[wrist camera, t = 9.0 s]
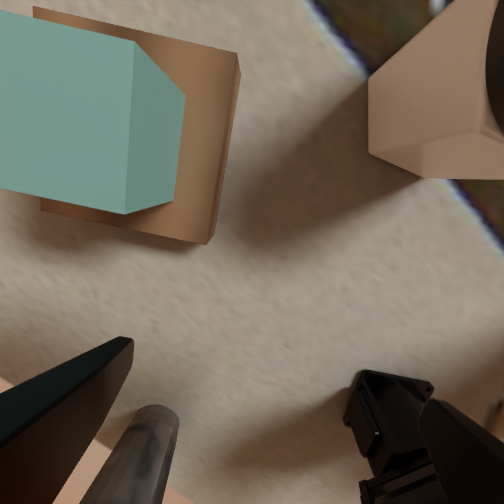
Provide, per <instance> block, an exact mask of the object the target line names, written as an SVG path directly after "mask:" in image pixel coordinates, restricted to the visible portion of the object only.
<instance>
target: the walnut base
mask: <svg viewBox="0 0 504 504" xmlns="http://www.w3.org/2000/svg"><path fill="white" fill-rule="evenodd" d="M33 18H36V19H41V20H45V21H49V22H54V23H58V24H62V25H67V26H71V27H75V28H79V29H84V30H88V31H92V32H97V33H101V34H105V35H109V36H114V37H118V38H122V39H127V40H131V41H135V42H136V43H137V44H138V45H139V47H140V48H141V49H142V50H143V51H144V52H145V53H146V54H147V55H148V56H149V57H150V58H151V59H152V60H153V61H154V62H155V64H156V65H157V66H158V67H159V68H160V69H161V70H162V71H163V72H164V73H165V74H166V75H167V76H168V77H169V78H170V79H171V80H172V82H173V83H174V84H175V85H176V86H177V87H178V88H179V89H180V90H181V91H182V92H183V93H184V94H185V95H186V96H185V104H184V113H183V122H182V130H181V139H180V147H179V156H178V165H177V173H176V182H175V191H174V199H173V201H170V202H167V203H163V204H160V205H156V206H153V207H149V208H146V209H142V210H139V211H135V212H132V213H128V214H125V215H124V214H119V213H115V212H110V211H105V210H101V209H96V208H91V207H86V206H82V205H77V204H72V203H68V202H63V201H58V200H54V199H49V198H44V197H41V211H46V212H51V213H56V214H60V215H65V216H70V217H75V218H79V219H84V220H89V221H94V222H98V223H103V224H108V225H113V226H117V227H122V228H127V229H132V230H137V231H141V232H146V233H151V234H156V235H160V236H165V237H170V238H175V239H179V240H184V241H189V242H194V243H198V244H203V245H206V244H207V243H208V242H209V241H210V239H211V238H212V237H213V236H214V232H215V226H216V220H217V214H218V208H219V202H220V196H221V190H222V184H223V179H224V173H225V167H226V161H227V155H228V149H229V143H230V137H231V131H232V125H233V119H234V113H235V107H236V101H237V95H238V89H239V83H240V77H241V72H240V67H239V62H238V57H237V53H234V52H230V51H225V50H221V49H217V48H212V47H208V46H204V45H199V44H195V43H191V42H187V41H182V40H178V39H174V38H169V37H165V36H161V35H156V34H152V33H148V32H143V31H139V30H135V29H131V28H126V27H122V26H118V25H113V24H109V23H105V22H100V21H96V20H92V19H87V18H83V17H79V16H74V15H70V14H66V13H62V12H57V11H53V10H49V9H44V8H40V7H36V6H33Z"/></svg>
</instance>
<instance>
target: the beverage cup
mask: <svg viewBox="0 0 504 504" xmlns="http://www.w3.org/2000/svg"><path fill="white" fill-rule="evenodd" d="M178 429H179V419H178V417H177V415H176V414H175V413H174V412H173V411H172V410H170V409H168V408H166V407H164V406H160V405H149V406H145V407H143V408H142V409H140V410H139V411H138V413H137V414H136V416H135V418H134V419H133V421H132V422H131V423H130V425H129V426H128V427H127V429H126V430H125V432H124V433H123V435H122V437H121V438H120V440H119V441H118V443H117V444H116V446H115V448H114V449H113V451H112V452H111V454H110V456H109V457H108V459H107V460H106V462H105V464H104V465H103V467H102V468H101V470H100V471H99V473H98V475H97V476H96V478H95V479H94V481H93V482H92V484H91V486H90V487H89V489H88V490H87V492H86V494H85V495H84V497H83V498H82V500H81V501H80V503H79V504H162V501H163V496H164V492H165V488H166V484H167V479H168V475H169V471H170V467H171V462H172V458H173V454H174V450H175V445H176V441H177V440H176V438H177V433H178Z"/></svg>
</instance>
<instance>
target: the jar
mask: <svg viewBox="0 0 504 504" xmlns="http://www.w3.org/2000/svg"><path fill="white" fill-rule="evenodd" d="M368 151H369V153H370V154H371V155H374V156H376V157H378V158H380V159H383V160H385V161H387V162H389V163H392V164H394V165H396V166H398V167H400V168H403V169H405V170H407V171H409V172H412V173H414V174H416V175H418V176H420V177H422V178H439V179H495V180H504V0H454V1H453V2H452V3H451V4H449V5H448V6H447V7H446V8H445V9H444V10H443V11H442V12H441V13H440V14H438V15H437V16H436V17H435V18H434V19H433V20H432V21H431V22H430V23H428V24H427V25H426V26H425V27H424V28H423V29H422V30H421V31H420V32H419V33H417V34H416V35H415V36H414V37H413V38H412V39H411V40H410V41H409V42H407V43H406V44H405V45H404V46H403V47H402V48H401V49H400V50H399V51H398V52H396V53H395V54H394V55H393V56H392V57H391V58H390V59H389V60H388V61H386V62H385V63H384V64H383V65H382V66H381V67H380V68H379V69H378V70H377V71H375V72H374V73H373V74H372V75H371V76H370V77H369V79H368Z"/></svg>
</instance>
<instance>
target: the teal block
mask: <svg viewBox="0 0 504 504" xmlns="http://www.w3.org/2000/svg"><path fill="white" fill-rule="evenodd" d="M185 96H186V95H185V94H184V93H183V92H182V91H181V90H180V89H179V88H178V87H177V86H176V85H175V84H174V83H173V82H172V80H171V79H170V78H169V77H168V76H167V75H166V74H165V73H164V72H163V71H162V70H161V69H160V68H159V67H158V66H157V65H156V64H155V62H154V61H153V60H152V59H151V58H150V57H149V56H148V55H147V54H146V53H145V52H144V51H143V50H142V49H141V48H140V47H139V45H138V44H137V43H136V42H135V41H131V40H127V39H122V38H118V37H114V36H109V35H105V34H101V33H97V32H92V31H88V30H84V29H79V28H75V27H71V26H67V25H62V24H58V23H54V22H49V21H45V20H41V19H36V18H32V17H28V16H24V15H19V14H15V13H11V12H6V11H2V10H0V188H2V189H7V190H12V191H16V192H21V193H26V194H30V195H35V196H40V197H44V198H49V199H54V200H58V201H63V202H68V203H72V204H77V205H82V206H86V207H91V208H96V209H101V210H105V211H110V212H115V213H119V214H124V215H125V214H128V213H132V212H135V211H139V210H142V209H146V208H149V207H153V206H156V205H160V204H163V203H167V202H170V201H173V199H174V191H175V182H176V173H177V165H178V156H179V147H180V139H181V130H182V122H183V113H184V104H185Z"/></svg>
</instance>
